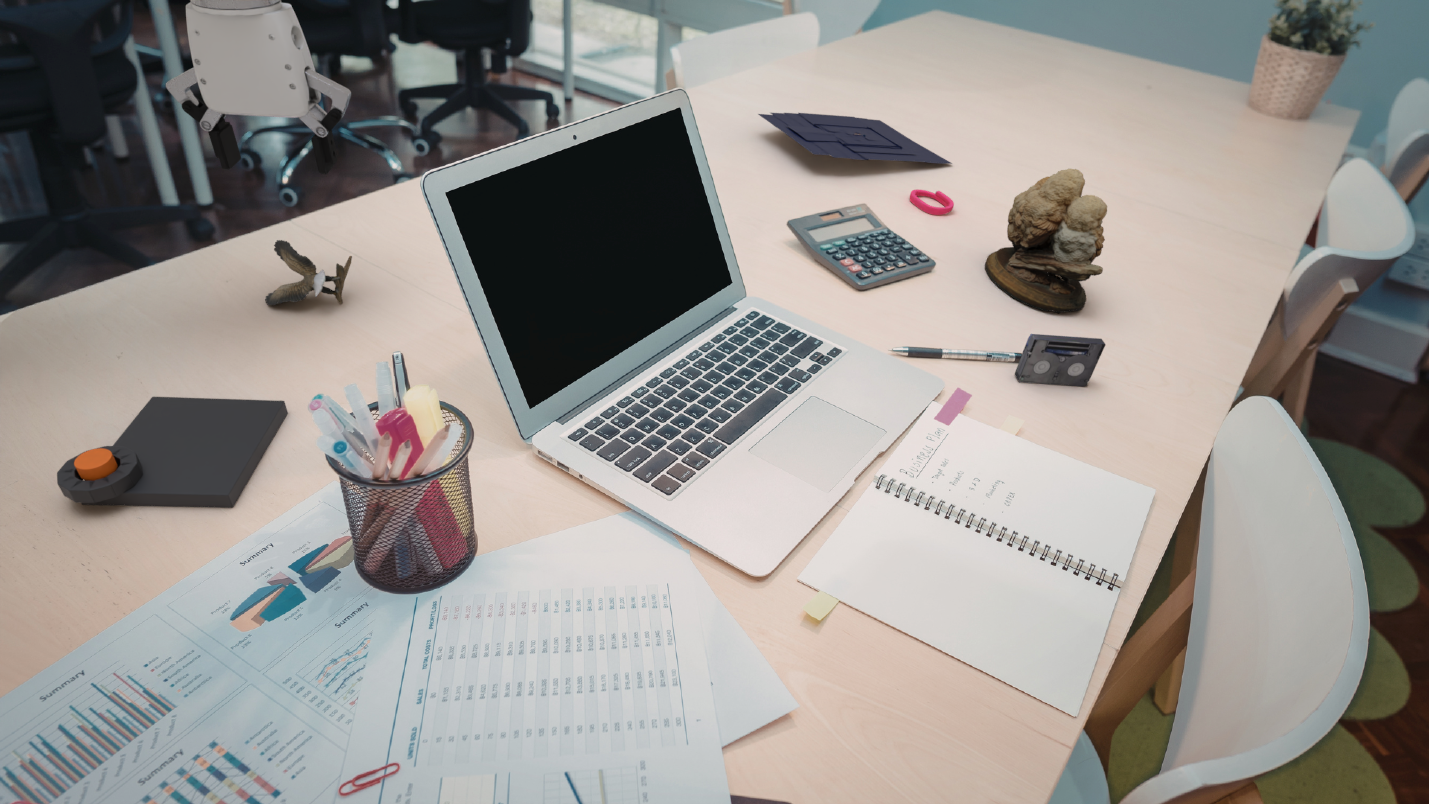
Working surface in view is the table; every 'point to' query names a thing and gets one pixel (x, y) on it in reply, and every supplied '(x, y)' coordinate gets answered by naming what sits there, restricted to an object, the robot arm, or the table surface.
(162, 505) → the scale
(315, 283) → the eagle figurine
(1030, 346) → the mini dv tape
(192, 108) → the robot arm
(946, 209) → the fitness band
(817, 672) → the table surface
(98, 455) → the button
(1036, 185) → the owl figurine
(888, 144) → the navy patterned tile
